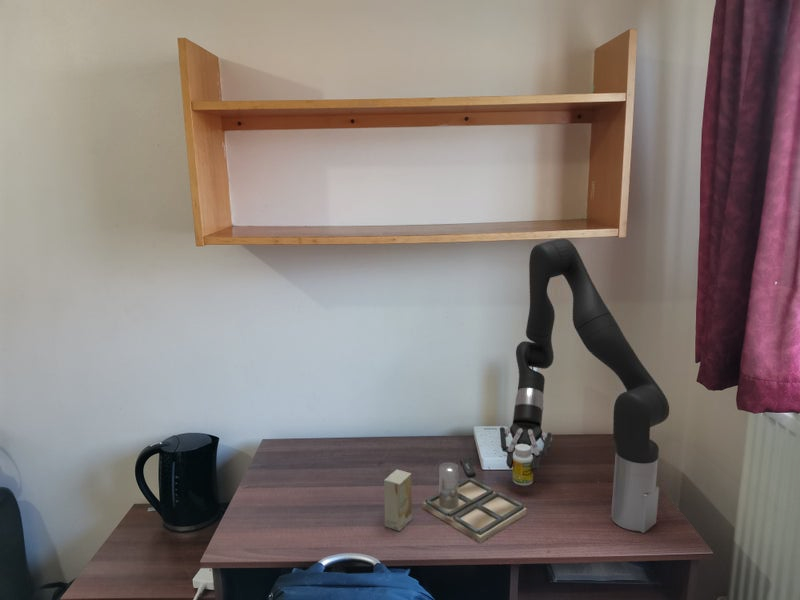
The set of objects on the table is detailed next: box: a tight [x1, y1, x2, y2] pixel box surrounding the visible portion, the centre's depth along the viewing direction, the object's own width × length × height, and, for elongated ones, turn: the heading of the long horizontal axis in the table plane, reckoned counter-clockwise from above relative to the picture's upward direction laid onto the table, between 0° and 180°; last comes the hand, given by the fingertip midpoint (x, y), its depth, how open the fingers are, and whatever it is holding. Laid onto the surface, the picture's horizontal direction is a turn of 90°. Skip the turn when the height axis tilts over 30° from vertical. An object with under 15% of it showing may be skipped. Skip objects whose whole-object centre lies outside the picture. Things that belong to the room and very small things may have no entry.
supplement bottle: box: [512, 444, 534, 486], centre depth 153 cm, size 5×5×10 cm
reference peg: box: [438, 462, 460, 509], centre depth 146 cm, size 5×5×10 cm
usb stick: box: [459, 457, 477, 479], centre depth 166 cm, size 10×3×2 cm, turn 7°
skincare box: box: [383, 468, 413, 532], centre depth 141 cm, size 6×4×12 cm
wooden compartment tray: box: [422, 477, 527, 544], centre depth 146 cm, size 19×17×2 cm
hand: (521, 469), depth 151 cm, fingers closed on supplement bottle, 5 cm apart
